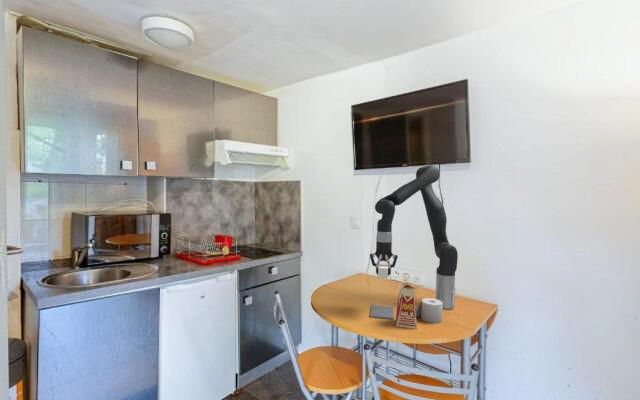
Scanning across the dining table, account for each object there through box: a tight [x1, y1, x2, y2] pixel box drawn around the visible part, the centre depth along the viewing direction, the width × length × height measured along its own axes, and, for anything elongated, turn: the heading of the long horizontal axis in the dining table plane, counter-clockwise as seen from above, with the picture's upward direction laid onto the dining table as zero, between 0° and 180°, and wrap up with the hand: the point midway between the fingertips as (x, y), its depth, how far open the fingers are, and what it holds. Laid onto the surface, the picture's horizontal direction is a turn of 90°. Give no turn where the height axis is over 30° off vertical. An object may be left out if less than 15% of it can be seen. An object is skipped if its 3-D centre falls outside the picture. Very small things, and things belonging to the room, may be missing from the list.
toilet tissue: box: [415, 297, 444, 324], centre depth 152 cm, size 9×13×9 cm
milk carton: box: [395, 280, 418, 330], centre depth 147 cm, size 9×9×20 cm
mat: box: [369, 304, 395, 321], centre depth 160 cm, size 15×11×1 cm
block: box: [377, 262, 389, 279], centre depth 158 cm, size 4×4×12 cm
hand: (383, 274), depth 159 cm, fingers closed on block, 4 cm apart
